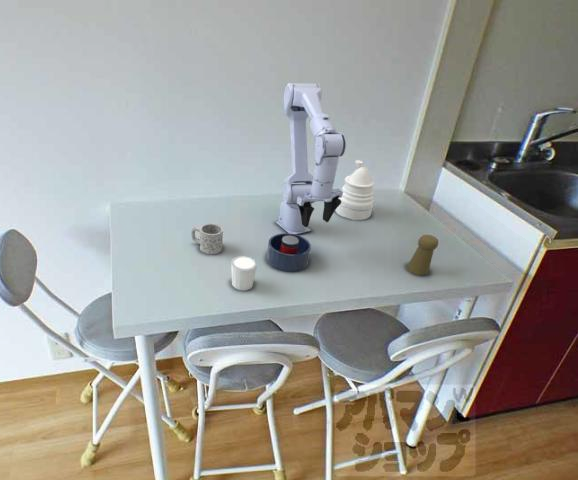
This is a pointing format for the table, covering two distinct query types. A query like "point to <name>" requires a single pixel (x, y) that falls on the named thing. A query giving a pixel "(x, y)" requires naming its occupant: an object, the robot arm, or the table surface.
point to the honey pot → (357, 194)
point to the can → (289, 245)
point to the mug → (209, 238)
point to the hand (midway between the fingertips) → (315, 223)
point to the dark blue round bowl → (287, 260)
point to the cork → (423, 255)
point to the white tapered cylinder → (243, 272)
